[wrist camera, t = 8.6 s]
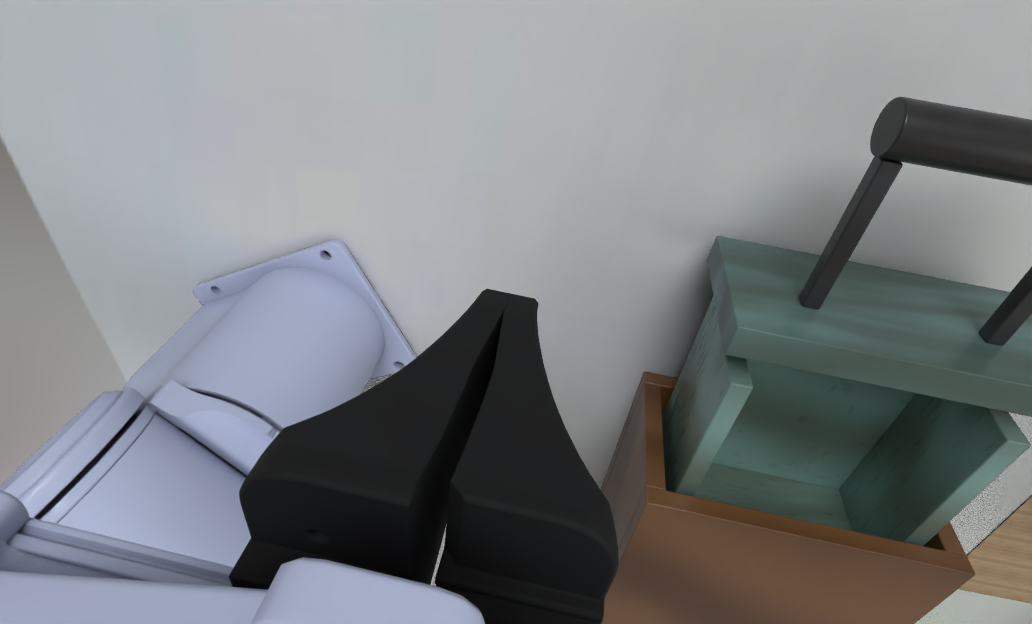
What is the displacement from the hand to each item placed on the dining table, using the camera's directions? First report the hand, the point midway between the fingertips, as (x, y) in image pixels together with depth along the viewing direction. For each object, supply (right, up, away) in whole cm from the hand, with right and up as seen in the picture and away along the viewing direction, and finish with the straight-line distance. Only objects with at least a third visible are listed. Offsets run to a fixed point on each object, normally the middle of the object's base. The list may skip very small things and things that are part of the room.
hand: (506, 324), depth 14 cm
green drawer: (+13, 0, +9) cm, 16 cm away
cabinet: (+12, -9, +18) cm, 23 cm away
